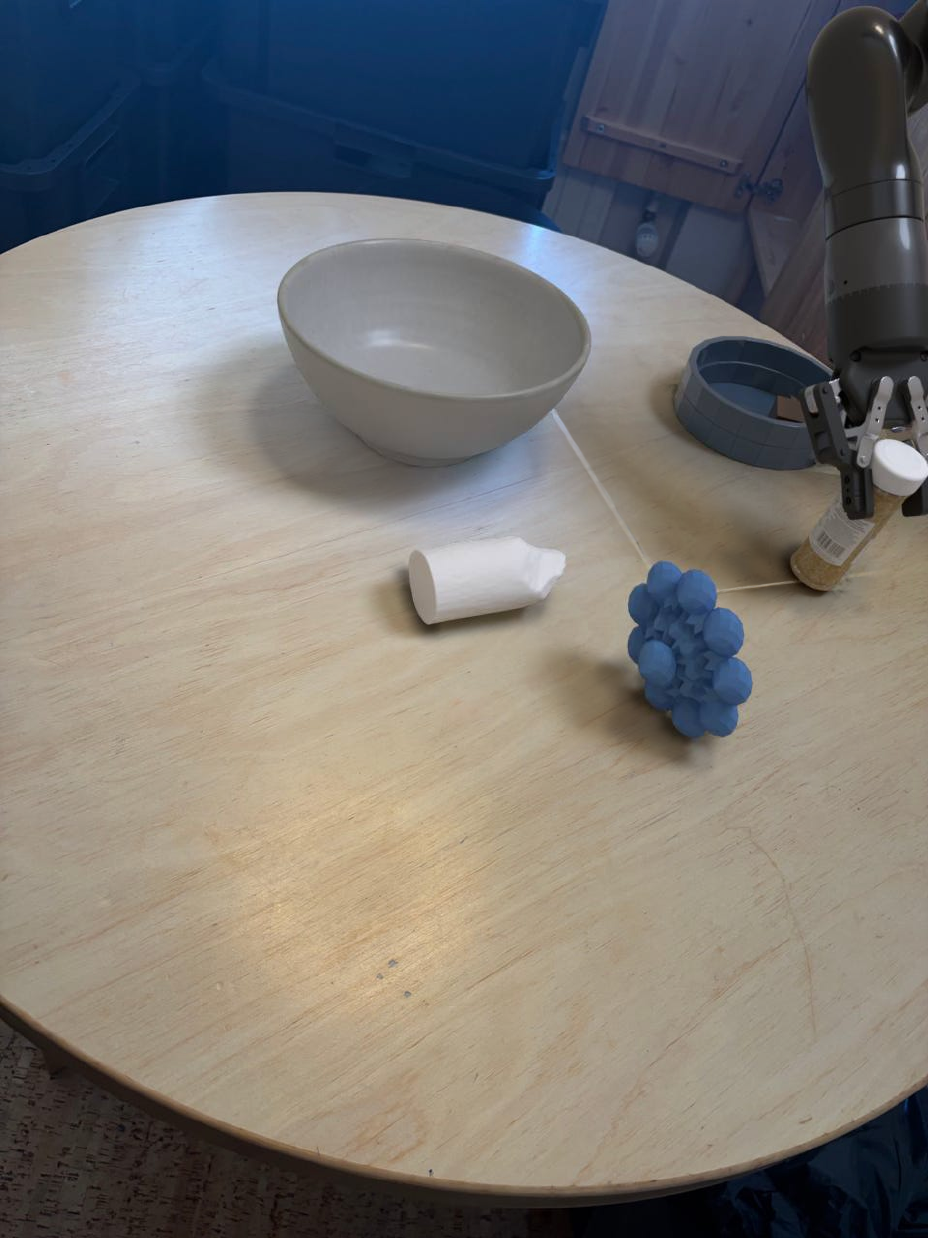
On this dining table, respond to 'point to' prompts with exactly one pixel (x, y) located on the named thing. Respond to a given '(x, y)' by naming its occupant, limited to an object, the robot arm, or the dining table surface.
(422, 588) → the white bottle
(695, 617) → the blue knobbly ring
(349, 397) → the decorative bowl
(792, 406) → the block
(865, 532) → the sprinkles bottle
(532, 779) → the dining table surface
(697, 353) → the bowl
